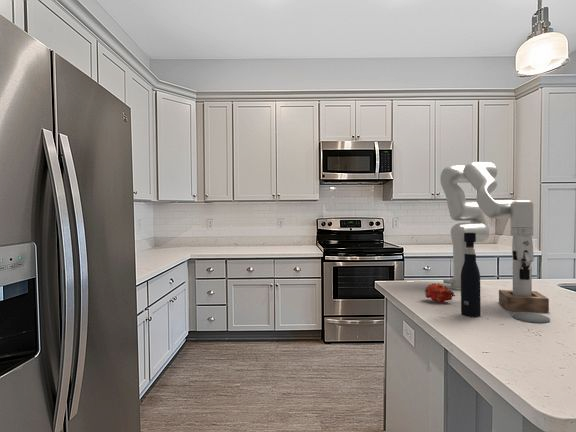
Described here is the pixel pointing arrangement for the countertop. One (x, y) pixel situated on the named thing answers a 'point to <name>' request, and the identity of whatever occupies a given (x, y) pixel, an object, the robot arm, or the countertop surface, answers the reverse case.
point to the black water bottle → (470, 280)
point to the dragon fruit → (438, 293)
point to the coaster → (531, 317)
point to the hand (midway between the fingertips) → (521, 277)
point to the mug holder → (524, 301)
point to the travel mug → (520, 285)
